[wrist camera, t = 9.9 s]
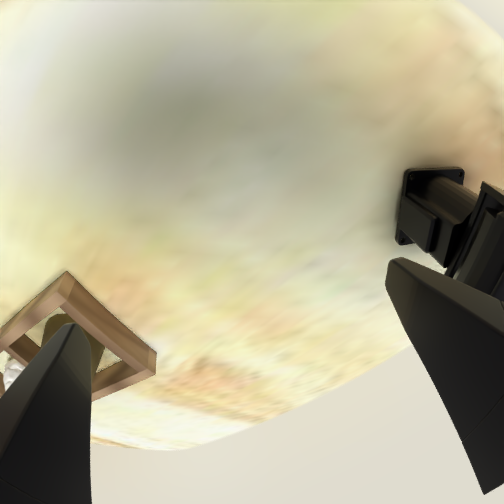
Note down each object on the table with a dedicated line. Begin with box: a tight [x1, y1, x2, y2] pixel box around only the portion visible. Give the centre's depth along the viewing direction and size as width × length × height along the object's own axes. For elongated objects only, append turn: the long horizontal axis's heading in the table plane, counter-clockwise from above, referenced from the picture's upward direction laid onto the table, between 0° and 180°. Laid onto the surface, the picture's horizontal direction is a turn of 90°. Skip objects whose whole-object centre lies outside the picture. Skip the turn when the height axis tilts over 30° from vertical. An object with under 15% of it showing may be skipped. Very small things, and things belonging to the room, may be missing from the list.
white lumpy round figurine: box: [3, 359, 25, 391], centre depth 24 cm, size 6×6×5 cm
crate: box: [0, 271, 157, 401], centre depth 24 cm, size 21×11×2 cm, turn 119°
